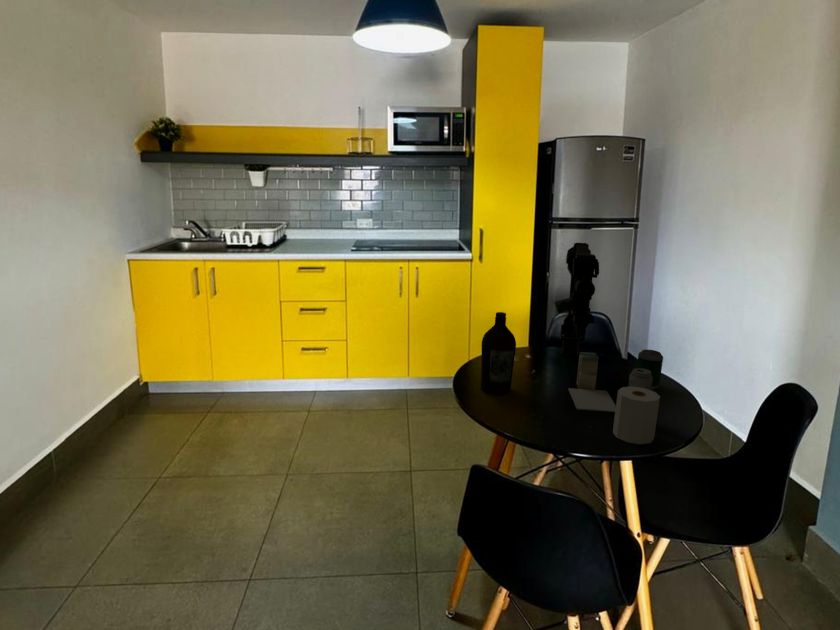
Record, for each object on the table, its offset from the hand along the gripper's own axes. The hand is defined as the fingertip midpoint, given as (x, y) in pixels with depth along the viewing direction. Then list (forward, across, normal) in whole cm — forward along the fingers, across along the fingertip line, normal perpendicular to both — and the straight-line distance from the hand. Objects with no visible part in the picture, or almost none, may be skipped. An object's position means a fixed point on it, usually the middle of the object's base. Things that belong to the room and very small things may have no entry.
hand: (577, 336), depth 196 cm
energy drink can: (+13, +38, +11) cm, 42 cm away
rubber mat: (+13, +25, +2) cm, 28 cm away
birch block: (+13, +14, +2) cm, 19 cm away
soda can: (+13, +10, +22) cm, 27 cm away
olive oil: (+13, +21, -28) cm, 37 cm away
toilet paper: (+13, +48, +8) cm, 50 cm away
